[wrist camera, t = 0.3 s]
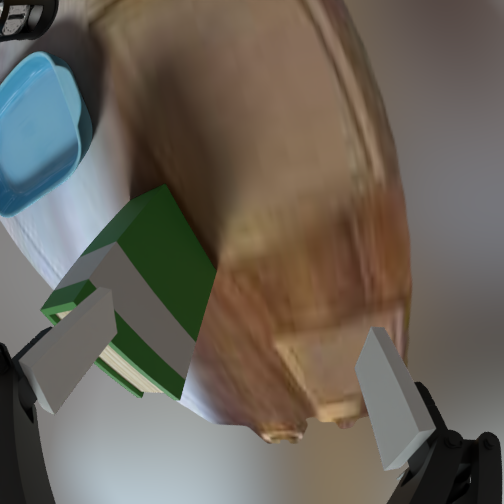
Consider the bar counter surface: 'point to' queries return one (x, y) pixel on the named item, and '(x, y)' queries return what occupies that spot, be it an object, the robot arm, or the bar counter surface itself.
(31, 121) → the casserole dish
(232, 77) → the bar counter surface
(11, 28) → the french press
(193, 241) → the hardback book
